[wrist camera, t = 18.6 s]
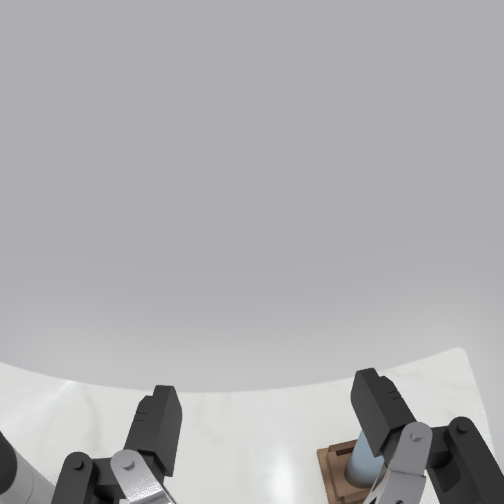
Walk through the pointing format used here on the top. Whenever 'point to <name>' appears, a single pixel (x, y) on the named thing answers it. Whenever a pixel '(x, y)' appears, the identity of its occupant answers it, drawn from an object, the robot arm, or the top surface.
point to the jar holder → (339, 474)
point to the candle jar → (362, 465)
